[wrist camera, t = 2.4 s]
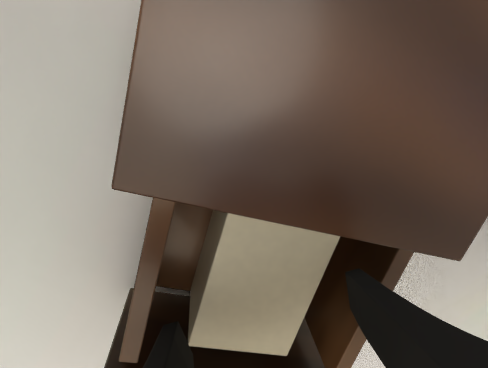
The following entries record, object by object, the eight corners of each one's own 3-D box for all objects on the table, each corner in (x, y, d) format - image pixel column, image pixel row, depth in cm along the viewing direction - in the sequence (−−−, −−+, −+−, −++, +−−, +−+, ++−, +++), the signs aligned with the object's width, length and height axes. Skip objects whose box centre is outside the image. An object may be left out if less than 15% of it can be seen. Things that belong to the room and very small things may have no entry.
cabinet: (362, 189, 19) (461, 262, 12) (151, 135, 16) (110, 189, 9) (479, -73, 15) (750, -211, 8) (218, -211, 12) (245, -657, 5)
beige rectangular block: (311, 196, 17) (343, 232, 13) (270, 301, 19) (287, 356, 15) (222, 175, 16) (229, 208, 12) (190, 289, 18) (187, 346, 14)
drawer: (279, 373, 23) (305, 473, 17) (115, 358, 21) (82, 470, 15) (379, 150, 18) (466, 190, 12) (170, 90, 15) (151, 104, 9)
